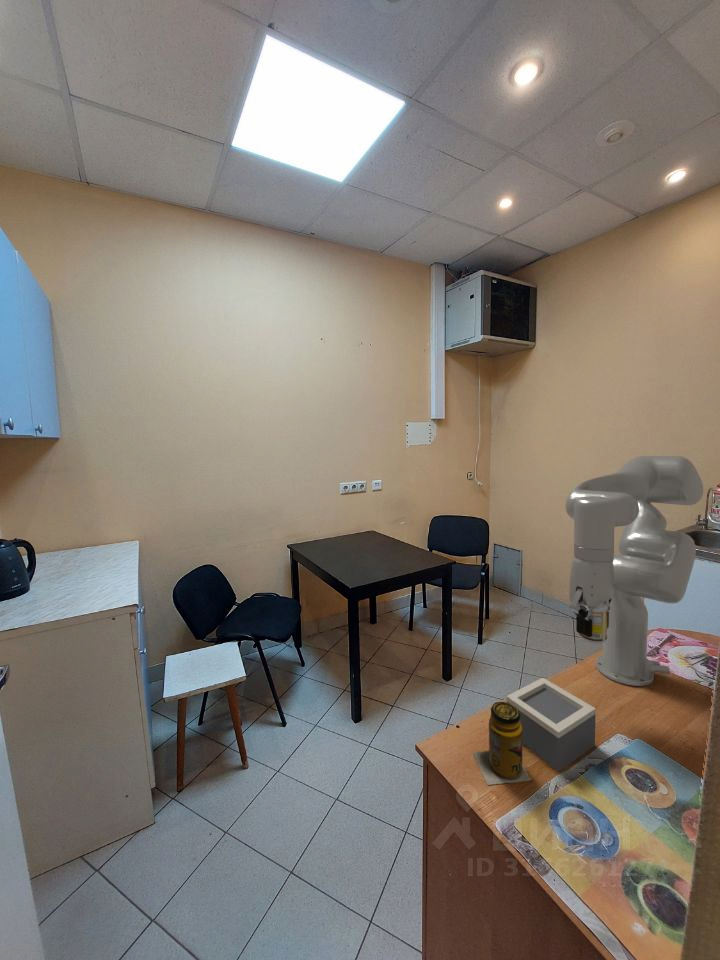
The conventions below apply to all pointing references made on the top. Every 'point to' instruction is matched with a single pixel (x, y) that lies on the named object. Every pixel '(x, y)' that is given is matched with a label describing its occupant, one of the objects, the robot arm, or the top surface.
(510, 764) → the condiment
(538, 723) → the stand
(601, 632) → the supplement bottle
